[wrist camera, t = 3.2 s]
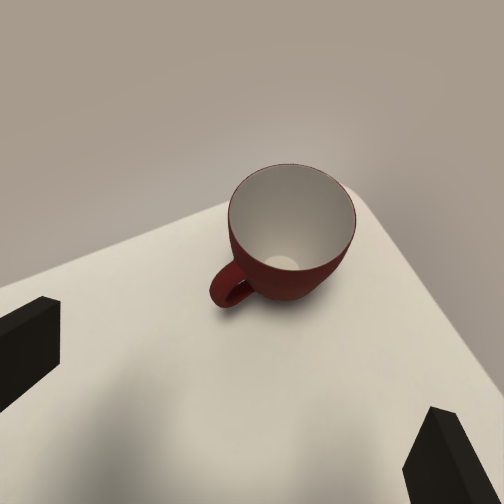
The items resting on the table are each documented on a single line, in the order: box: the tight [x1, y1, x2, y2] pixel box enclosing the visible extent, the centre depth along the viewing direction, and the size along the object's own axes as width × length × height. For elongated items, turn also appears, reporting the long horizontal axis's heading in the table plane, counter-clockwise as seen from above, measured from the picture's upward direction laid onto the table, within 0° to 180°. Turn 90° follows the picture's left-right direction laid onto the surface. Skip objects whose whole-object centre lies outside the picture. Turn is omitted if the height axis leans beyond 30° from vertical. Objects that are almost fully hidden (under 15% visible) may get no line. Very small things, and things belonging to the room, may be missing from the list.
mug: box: [209, 164, 356, 308], centre depth 25 cm, size 11×8×10 cm
